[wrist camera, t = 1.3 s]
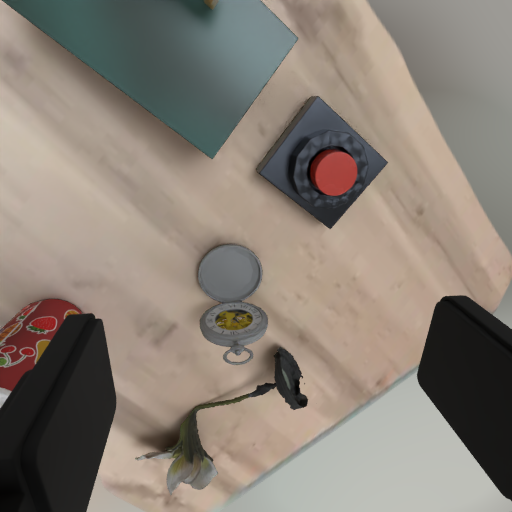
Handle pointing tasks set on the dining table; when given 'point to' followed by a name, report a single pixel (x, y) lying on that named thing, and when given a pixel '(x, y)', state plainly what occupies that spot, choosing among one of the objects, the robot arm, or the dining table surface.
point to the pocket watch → (232, 298)
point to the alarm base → (304, 152)
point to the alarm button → (333, 172)
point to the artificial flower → (189, 447)
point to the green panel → (174, 55)
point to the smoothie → (28, 339)
